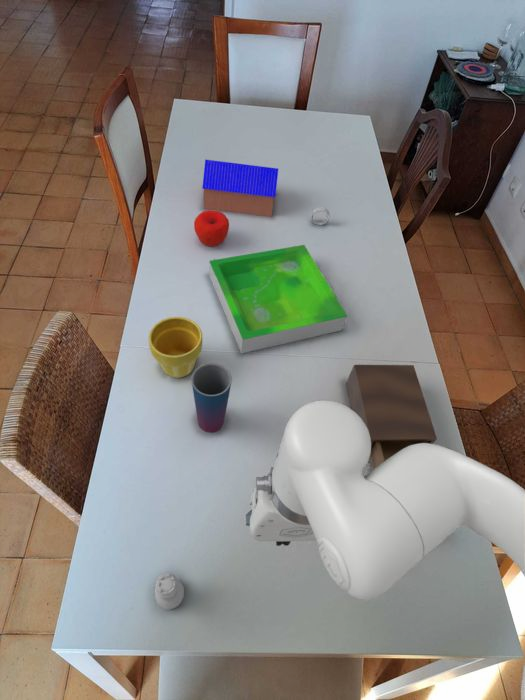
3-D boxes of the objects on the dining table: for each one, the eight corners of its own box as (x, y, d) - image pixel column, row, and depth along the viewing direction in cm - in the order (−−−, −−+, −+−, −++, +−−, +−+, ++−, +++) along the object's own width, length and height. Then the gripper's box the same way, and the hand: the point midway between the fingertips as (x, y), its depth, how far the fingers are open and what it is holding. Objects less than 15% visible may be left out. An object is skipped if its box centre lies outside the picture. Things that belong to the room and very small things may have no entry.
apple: (203, 257, 117) (202, 232, 111) (189, 236, 121) (188, 211, 115) (234, 248, 120) (235, 224, 114) (219, 228, 124) (220, 204, 118)
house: (207, 185, 136) (208, 147, 127) (274, 193, 137) (279, 156, 128) (202, 209, 129) (202, 171, 119) (272, 217, 130) (277, 181, 120)
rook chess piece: (150, 605, 69) (145, 597, 63) (161, 574, 72) (156, 563, 66) (178, 613, 69) (176, 605, 63) (188, 581, 72) (186, 571, 65)
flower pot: (154, 345, 98) (149, 315, 91) (202, 345, 100) (202, 315, 92) (151, 386, 92) (146, 357, 85) (202, 384, 94) (202, 357, 86)
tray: (342, 330, 107) (347, 316, 103) (241, 353, 100) (242, 339, 96) (300, 259, 120) (304, 244, 116) (209, 275, 113) (209, 260, 109)
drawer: (444, 533, 79) (458, 525, 75) (381, 536, 78) (391, 527, 74) (412, 424, 92) (422, 411, 88) (358, 424, 91) (366, 411, 87)
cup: (189, 433, 87) (186, 391, 75) (198, 403, 91) (197, 359, 79) (224, 440, 87) (227, 399, 75) (231, 409, 91) (235, 366, 79)
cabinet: (422, 455, 89) (437, 438, 84) (360, 456, 88) (371, 439, 82) (401, 383, 99) (413, 364, 93) (345, 383, 98) (354, 364, 92)
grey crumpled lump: (327, 227, 129) (331, 212, 125) (310, 225, 129) (313, 211, 125) (326, 221, 131) (330, 206, 127) (309, 219, 131) (312, 204, 127)
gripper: (233, 523, 44) (226, 564, 59) (381, 521, 46) (338, 562, 60) (233, 451, 49) (226, 506, 63) (368, 452, 50) (331, 505, 65)
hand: (281, 533), depth 62 cm, fingers closed
